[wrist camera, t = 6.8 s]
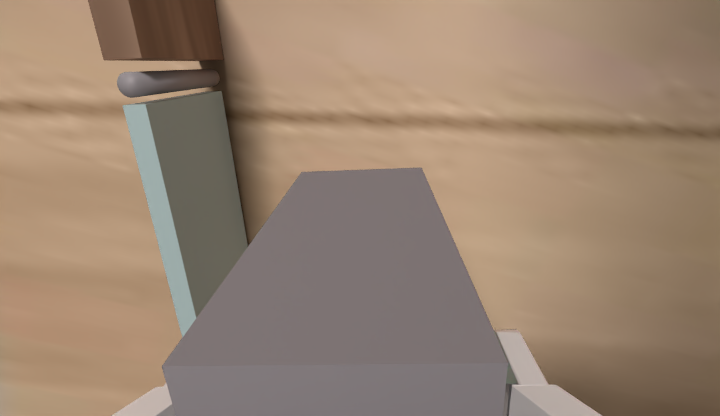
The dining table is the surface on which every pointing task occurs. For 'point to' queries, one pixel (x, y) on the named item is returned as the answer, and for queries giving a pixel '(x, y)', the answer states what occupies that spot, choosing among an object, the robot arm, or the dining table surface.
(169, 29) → the wooden blocks
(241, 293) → the block
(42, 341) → the dining table surface
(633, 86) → the dining table surface
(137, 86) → the door
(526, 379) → the robot arm
